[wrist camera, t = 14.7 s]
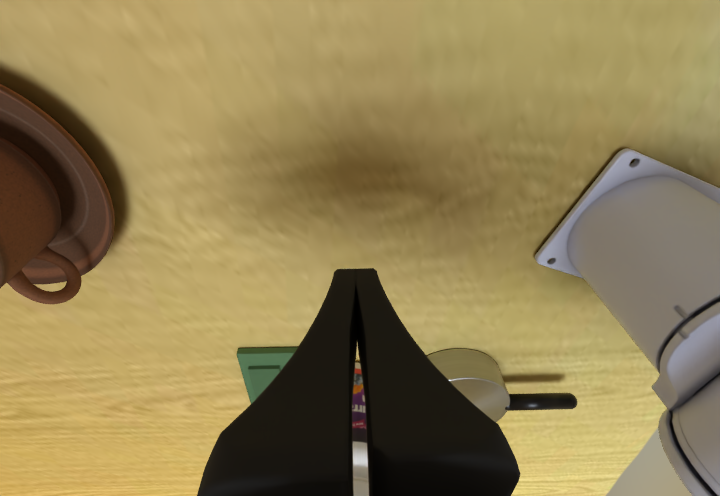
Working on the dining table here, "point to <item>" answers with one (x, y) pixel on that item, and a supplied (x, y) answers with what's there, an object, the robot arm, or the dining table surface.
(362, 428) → the pill bottle
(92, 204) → the cup and saucer
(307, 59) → the dining table surface
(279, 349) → the green light switch
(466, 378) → the pan
